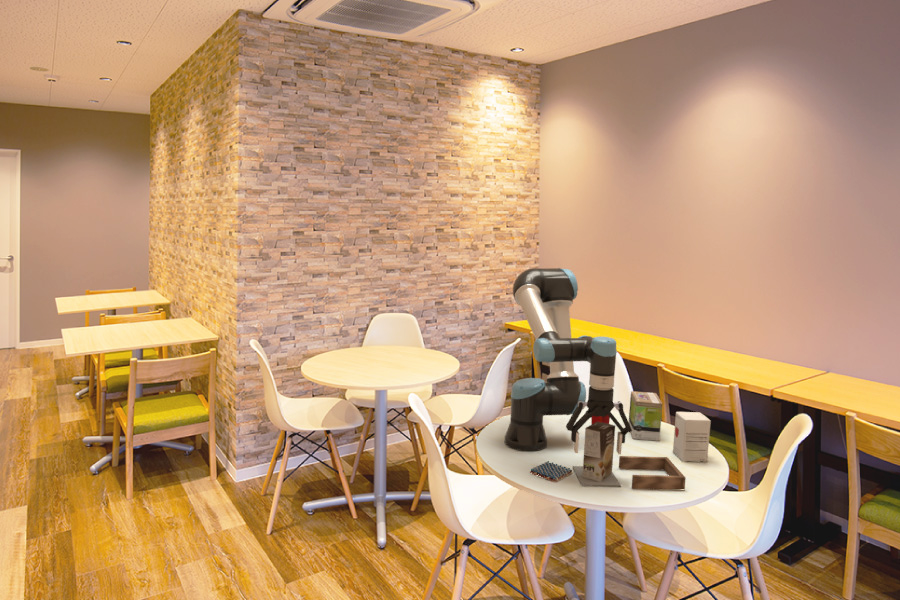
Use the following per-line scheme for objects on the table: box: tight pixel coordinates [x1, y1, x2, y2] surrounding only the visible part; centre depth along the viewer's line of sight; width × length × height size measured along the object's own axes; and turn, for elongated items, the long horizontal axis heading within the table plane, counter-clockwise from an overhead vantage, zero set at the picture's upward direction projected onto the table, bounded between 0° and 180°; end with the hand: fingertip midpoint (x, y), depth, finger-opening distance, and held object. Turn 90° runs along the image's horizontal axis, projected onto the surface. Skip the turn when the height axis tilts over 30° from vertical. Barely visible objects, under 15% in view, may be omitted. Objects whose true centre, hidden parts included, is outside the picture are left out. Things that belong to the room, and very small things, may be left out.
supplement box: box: [672, 411, 712, 463], centre depth 217 cm, size 9×9×15 cm
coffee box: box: [582, 422, 616, 482], centre depth 198 cm, size 9×6×16 cm
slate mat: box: [572, 465, 622, 488], centre depth 199 cm, size 12×14×1 cm
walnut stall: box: [618, 455, 687, 490], centre depth 199 cm, size 16×16×4 cm
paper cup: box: [590, 415, 611, 425], centre depth 232 cm, size 8×8×14 cm
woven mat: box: [529, 460, 573, 484], centre depth 201 cm, size 10×11×2 cm
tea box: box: [628, 390, 663, 442], centre depth 240 cm, size 15×10×15 cm
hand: (597, 452), depth 198 cm, fingers open, 13 cm apart
